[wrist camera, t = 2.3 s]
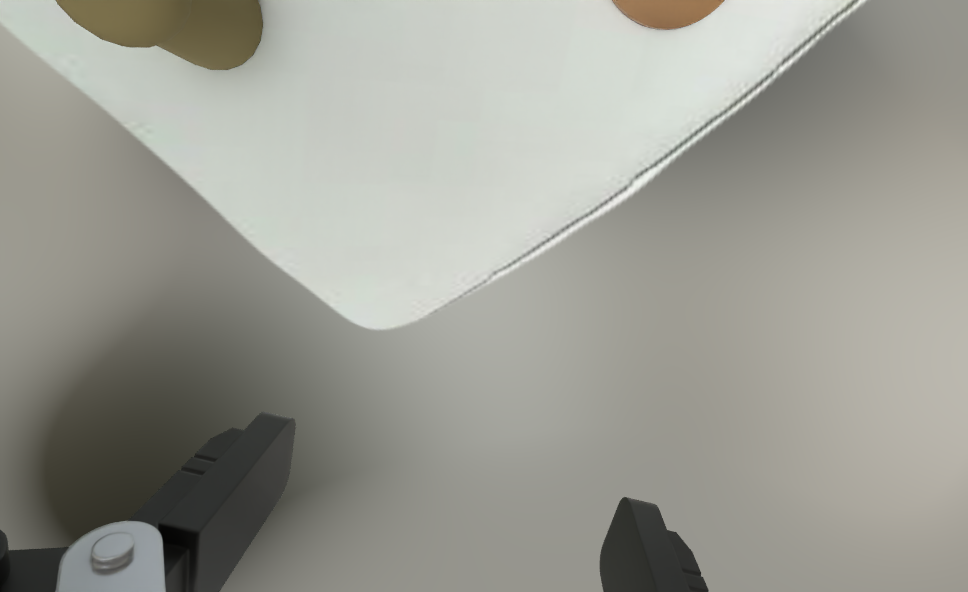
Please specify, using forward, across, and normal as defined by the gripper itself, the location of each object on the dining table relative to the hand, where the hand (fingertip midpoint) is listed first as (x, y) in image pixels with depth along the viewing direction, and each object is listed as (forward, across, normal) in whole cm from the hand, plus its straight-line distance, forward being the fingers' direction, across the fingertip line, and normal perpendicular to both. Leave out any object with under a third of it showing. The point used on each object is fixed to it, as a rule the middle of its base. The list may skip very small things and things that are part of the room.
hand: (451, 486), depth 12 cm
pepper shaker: (+22, +20, -11) cm, 32 cm away
